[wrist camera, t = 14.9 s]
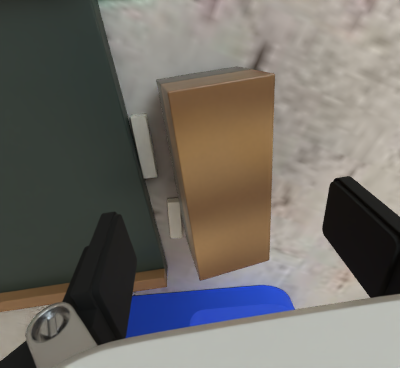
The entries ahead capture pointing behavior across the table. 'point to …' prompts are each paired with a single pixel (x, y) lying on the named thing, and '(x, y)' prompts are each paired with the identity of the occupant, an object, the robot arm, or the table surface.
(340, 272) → the table surface
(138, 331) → the bracket
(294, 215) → the table surface
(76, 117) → the slate board
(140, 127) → the chalk stroke
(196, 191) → the eraser
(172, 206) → the off-white bar
